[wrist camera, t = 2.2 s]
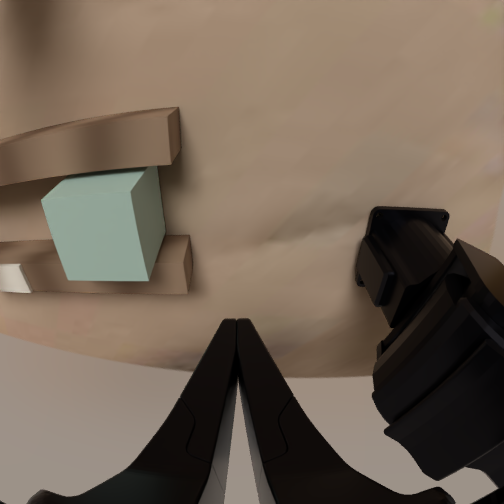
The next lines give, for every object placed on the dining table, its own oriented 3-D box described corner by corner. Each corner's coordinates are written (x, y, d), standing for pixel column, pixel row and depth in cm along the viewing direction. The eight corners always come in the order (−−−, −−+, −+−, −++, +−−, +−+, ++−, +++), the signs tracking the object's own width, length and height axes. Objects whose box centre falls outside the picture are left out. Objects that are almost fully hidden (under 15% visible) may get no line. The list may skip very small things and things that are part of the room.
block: (156, 156, 17) (130, 191, 13) (165, 230, 20) (148, 281, 16) (81, 164, 17) (40, 200, 13) (97, 233, 20) (68, 280, 15)
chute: (178, 106, 15) (165, 117, 13) (192, 264, 21) (187, 297, 19) (-50, 157, 15) (-76, 174, 12) (-13, 265, 21) (-31, 288, 18)
